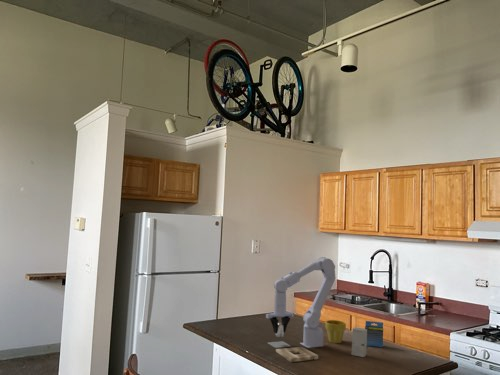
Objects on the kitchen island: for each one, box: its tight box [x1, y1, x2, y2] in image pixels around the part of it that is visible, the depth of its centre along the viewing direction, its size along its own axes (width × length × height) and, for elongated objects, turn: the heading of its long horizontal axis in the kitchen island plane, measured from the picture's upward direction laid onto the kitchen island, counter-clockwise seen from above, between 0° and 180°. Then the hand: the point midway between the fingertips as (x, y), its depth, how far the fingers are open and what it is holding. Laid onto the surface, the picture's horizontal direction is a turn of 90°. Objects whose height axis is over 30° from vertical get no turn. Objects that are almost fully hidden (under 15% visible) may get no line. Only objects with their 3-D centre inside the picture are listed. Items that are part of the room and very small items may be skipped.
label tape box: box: [364, 320, 384, 348], centre depth 212 cm, size 9×4×12 cm, turn 74°
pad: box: [267, 340, 291, 349], centre depth 206 cm, size 9×9×1 cm
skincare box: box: [351, 326, 367, 358], centre depth 195 cm, size 6×4×12 cm
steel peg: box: [274, 322, 285, 338], centre depth 206 cm, size 4×4×6 cm
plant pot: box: [325, 319, 347, 344], centre depth 217 cm, size 10×10×10 cm
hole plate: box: [275, 346, 319, 363], centre depth 190 cm, size 14×14×2 cm
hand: (279, 332), depth 206 cm, fingers closed on steel peg, 4 cm apart
